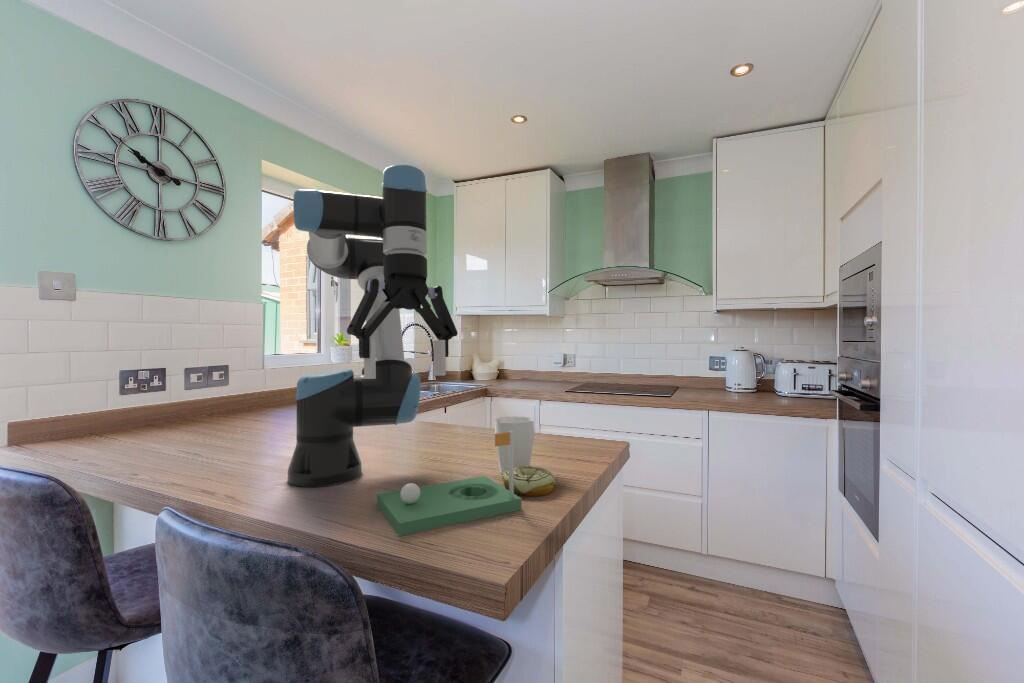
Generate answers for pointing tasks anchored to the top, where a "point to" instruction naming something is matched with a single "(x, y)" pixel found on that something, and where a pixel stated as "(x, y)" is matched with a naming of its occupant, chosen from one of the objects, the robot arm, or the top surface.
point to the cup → (515, 441)
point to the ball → (410, 493)
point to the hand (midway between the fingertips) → (406, 377)
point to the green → (452, 500)
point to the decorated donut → (530, 481)
